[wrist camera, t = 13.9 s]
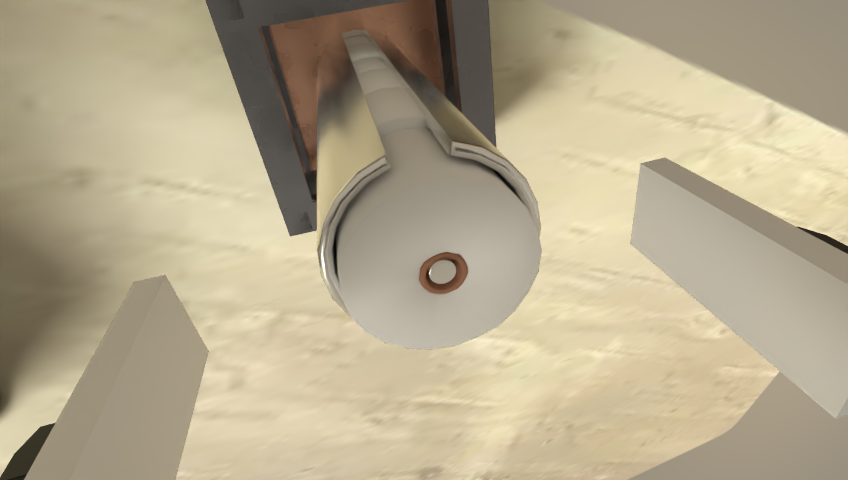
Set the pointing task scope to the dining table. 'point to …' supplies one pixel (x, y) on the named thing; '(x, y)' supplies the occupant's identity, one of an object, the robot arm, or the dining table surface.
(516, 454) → the dining table surface
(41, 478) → the robot arm
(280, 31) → the collar stand
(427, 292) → the white tall cylinder
